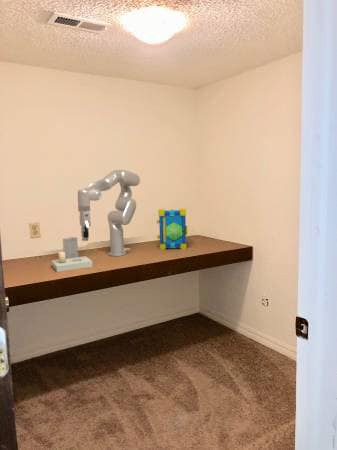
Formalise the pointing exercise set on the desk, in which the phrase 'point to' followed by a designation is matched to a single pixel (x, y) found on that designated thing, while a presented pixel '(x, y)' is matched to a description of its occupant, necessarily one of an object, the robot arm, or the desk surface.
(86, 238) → the peg
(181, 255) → the desk surface
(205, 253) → the desk surface
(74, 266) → the board
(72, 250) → the skincare box
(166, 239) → the decorative book
